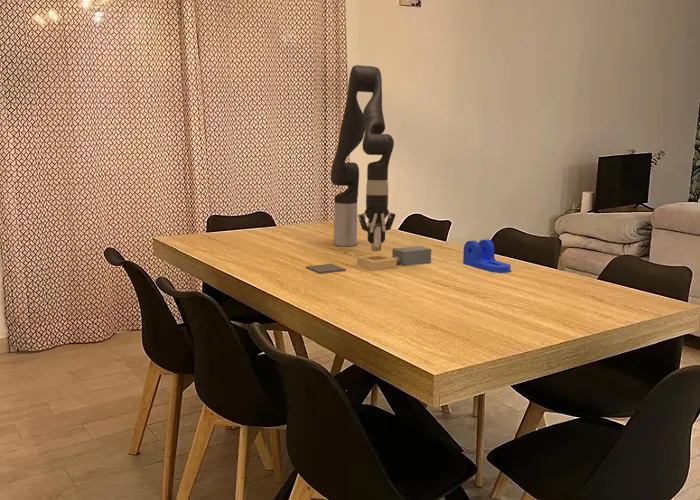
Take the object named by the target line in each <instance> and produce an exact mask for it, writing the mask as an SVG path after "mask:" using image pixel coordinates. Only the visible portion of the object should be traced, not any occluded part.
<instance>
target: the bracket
mask: <svg viewBox="0 0 700 500" xmlns="http://www.w3.org/2000/svg"><path fill="white" fill-rule="evenodd" d="M495 249H496V248H495V245H494V242H493V241H492V240H491V239H489V238H488V239H487V238H486V239H481V240H479V242H478V241H477V240H467V241H466V242H465V243H464V245H463V253H462V254H463V256H462V257H463V258H462V259H463V260H462V265H465V266H469V267H472V268H475V269H478V270H483V271H486V272H489V273H494V274H495V273H496V274H504V273H507V274H508V273H510V272H511V264H509V263H506V262H502V261H499V260H496V259H495V251H496V250H495Z"/></svg>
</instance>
